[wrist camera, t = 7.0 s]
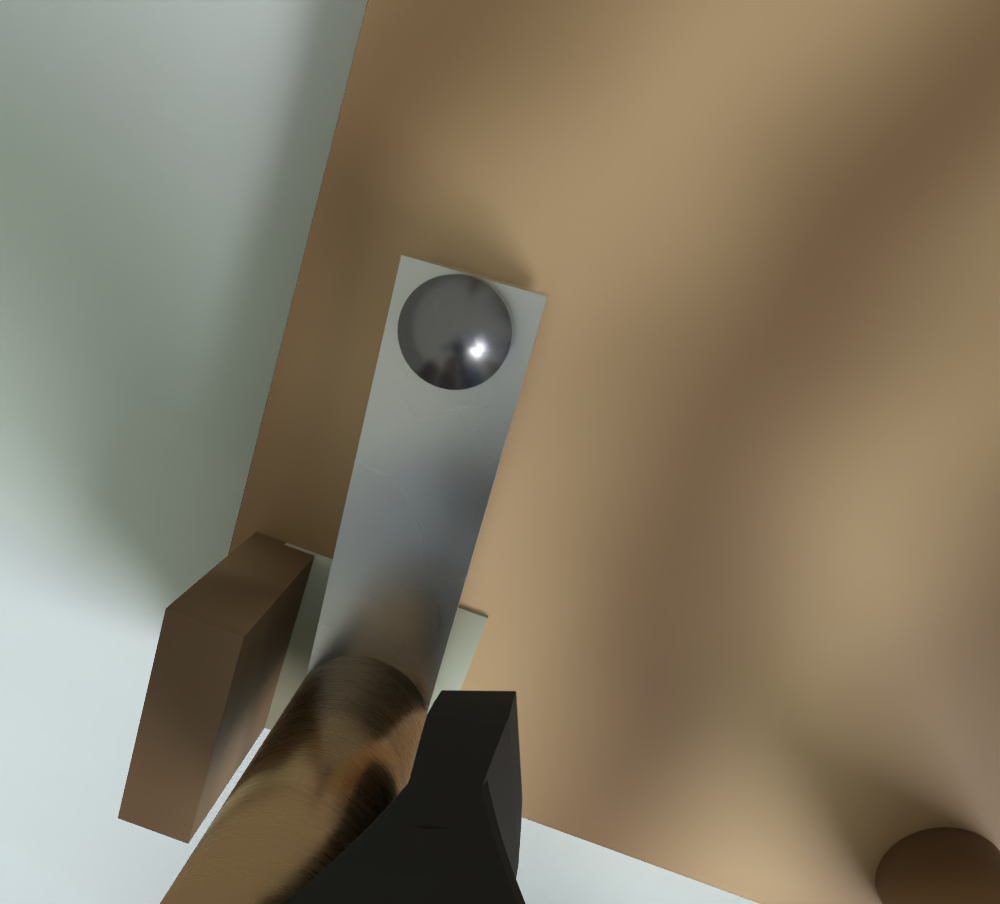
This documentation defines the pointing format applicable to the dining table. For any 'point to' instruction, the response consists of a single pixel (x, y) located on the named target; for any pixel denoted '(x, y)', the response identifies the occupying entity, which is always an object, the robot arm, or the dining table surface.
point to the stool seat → (668, 432)
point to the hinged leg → (381, 587)
